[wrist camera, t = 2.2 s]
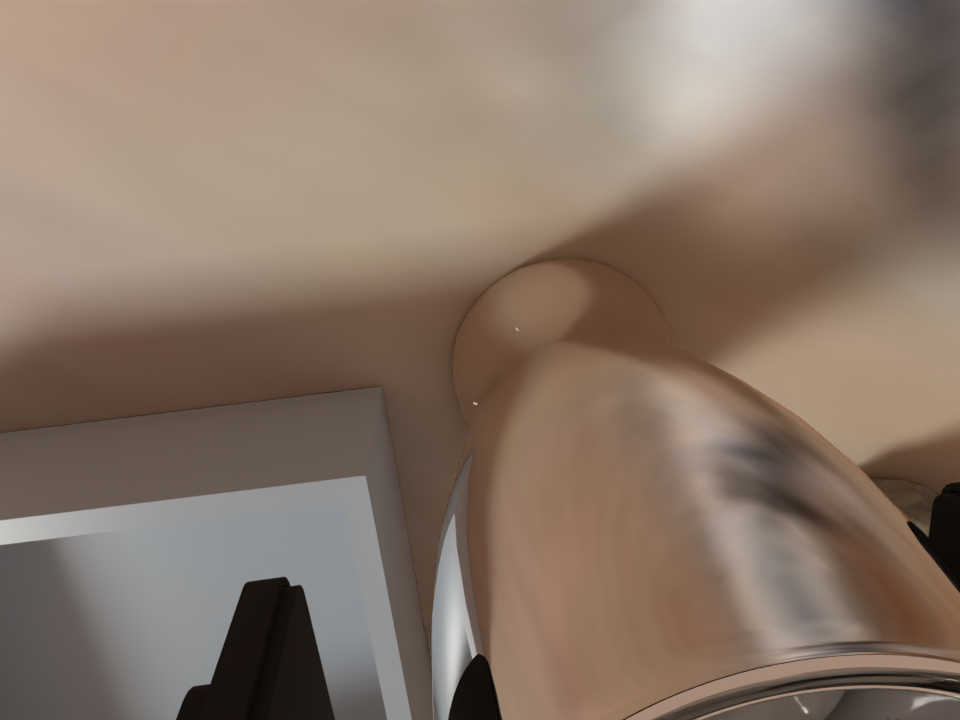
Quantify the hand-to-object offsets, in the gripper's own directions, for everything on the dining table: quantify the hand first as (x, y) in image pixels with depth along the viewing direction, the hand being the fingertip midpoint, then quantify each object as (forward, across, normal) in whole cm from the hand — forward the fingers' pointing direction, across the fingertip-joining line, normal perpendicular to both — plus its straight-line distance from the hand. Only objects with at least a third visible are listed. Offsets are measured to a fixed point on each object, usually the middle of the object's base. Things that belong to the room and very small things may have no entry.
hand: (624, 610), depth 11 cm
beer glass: (+11, -1, 0) cm, 11 cm away
